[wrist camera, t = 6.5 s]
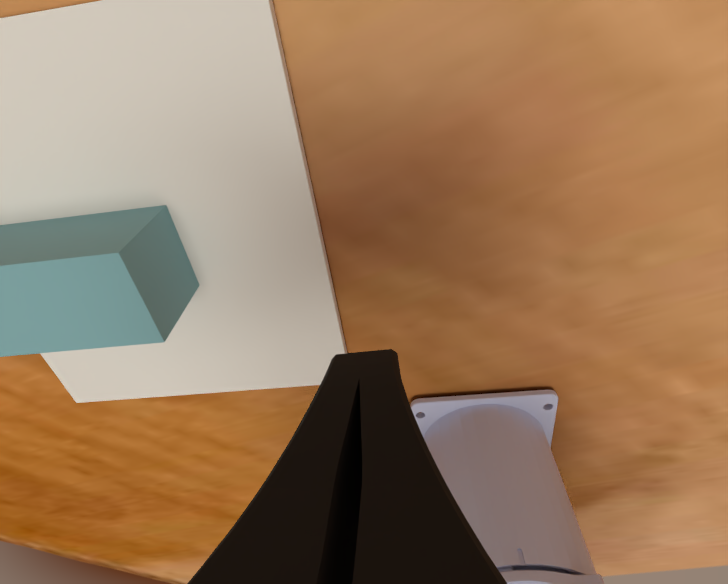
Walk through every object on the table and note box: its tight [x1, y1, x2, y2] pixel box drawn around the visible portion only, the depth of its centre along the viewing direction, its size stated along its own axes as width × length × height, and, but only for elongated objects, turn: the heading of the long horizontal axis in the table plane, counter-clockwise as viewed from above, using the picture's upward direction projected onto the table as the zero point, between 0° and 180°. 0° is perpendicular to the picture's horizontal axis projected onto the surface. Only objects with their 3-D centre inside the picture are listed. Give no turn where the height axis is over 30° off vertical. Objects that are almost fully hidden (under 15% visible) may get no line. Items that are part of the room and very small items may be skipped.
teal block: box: [0, 205, 200, 357], centre depth 18 cm, size 4×4×9 cm
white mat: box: [0, 0, 347, 403], centre depth 20 cm, size 18×16×1 cm
